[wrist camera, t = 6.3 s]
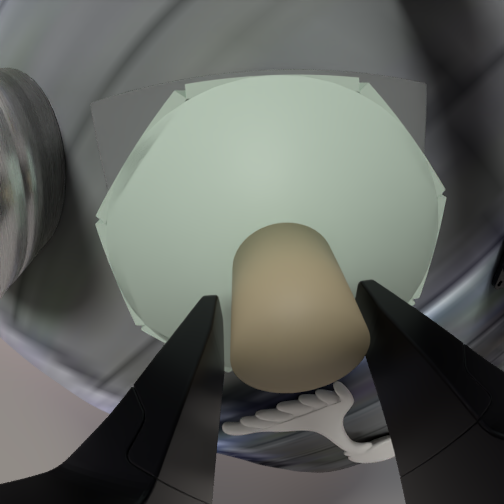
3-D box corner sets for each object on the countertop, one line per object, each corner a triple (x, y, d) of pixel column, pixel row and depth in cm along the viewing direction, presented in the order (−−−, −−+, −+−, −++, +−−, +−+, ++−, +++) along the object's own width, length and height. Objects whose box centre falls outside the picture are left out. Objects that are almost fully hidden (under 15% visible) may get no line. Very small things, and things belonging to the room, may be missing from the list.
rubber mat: (417, 82, 8) (426, 83, 7) (383, 316, 14) (386, 324, 14) (97, 101, 8) (90, 103, 8) (166, 337, 14) (164, 345, 14)
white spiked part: (331, 345, 16) (344, 393, 13) (414, 432, 30) (420, 450, 27) (218, 395, 19) (217, 437, 16) (361, 455, 33) (365, 473, 30)
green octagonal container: (421, 89, 8) (542, 119, 3) (383, 321, 14) (422, 409, 9) (99, 108, 8) (-19, 147, 3) (168, 342, 14) (150, 440, 9)
